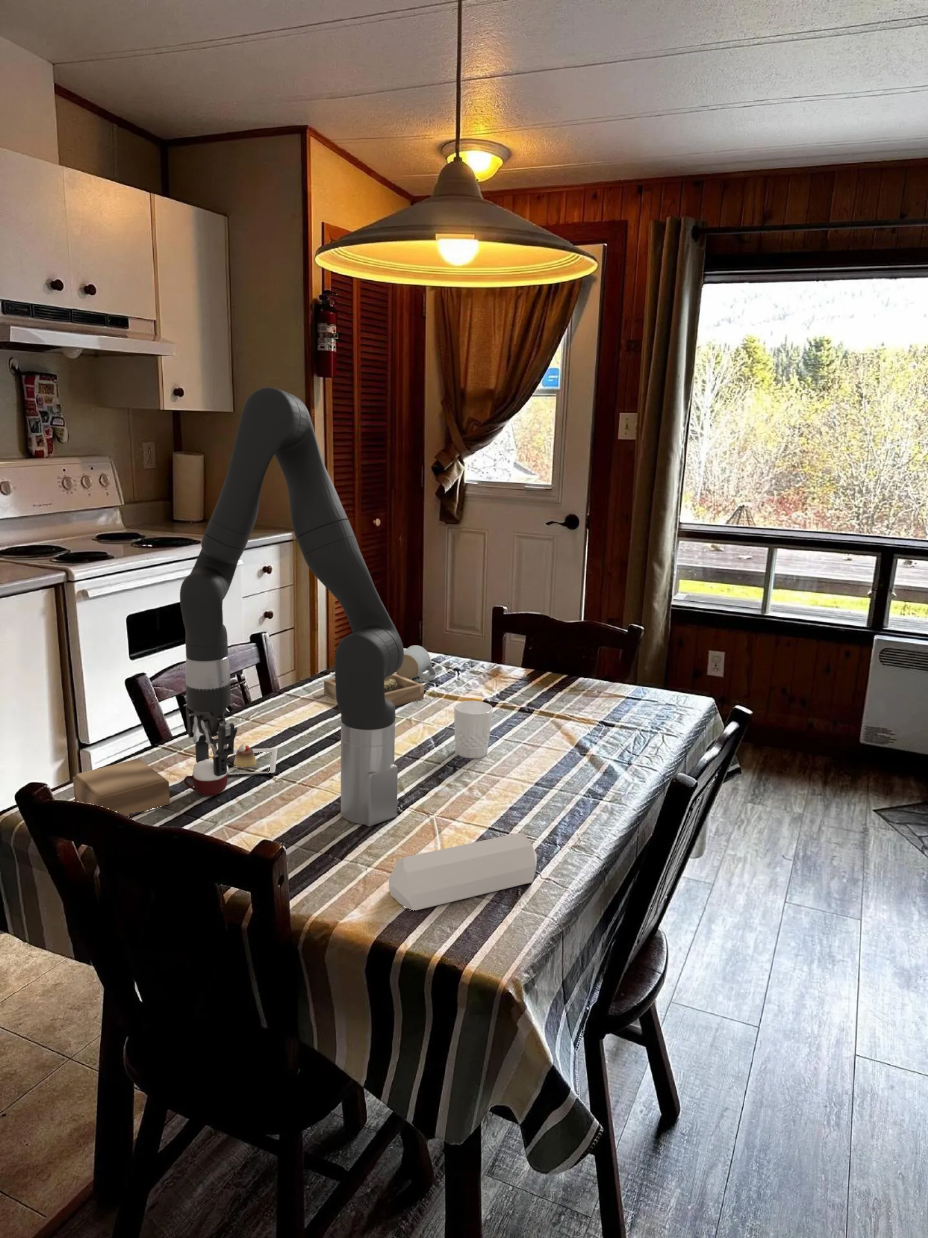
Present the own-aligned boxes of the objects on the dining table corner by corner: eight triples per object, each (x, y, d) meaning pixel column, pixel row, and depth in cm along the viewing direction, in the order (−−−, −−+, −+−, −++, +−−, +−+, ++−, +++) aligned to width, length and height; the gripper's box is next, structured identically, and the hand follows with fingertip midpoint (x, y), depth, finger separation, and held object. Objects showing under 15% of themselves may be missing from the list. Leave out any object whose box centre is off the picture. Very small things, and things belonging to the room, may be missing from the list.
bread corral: (423, 698, 206) (424, 685, 205) (366, 713, 195) (366, 699, 194) (380, 680, 218) (380, 667, 218) (324, 694, 207) (324, 680, 206)
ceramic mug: (391, 678, 221) (392, 650, 219) (404, 670, 228) (405, 642, 226) (429, 685, 217) (430, 656, 215) (440, 676, 225) (442, 648, 223)
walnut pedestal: (170, 804, 147) (168, 778, 146) (100, 825, 139) (98, 798, 138) (141, 781, 156) (140, 756, 155) (74, 800, 148) (72, 773, 147)
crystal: (403, 901, 115) (553, 865, 125) (387, 855, 120) (533, 825, 130) (393, 927, 120) (537, 891, 130) (378, 883, 124) (519, 851, 135)
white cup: (444, 751, 175) (446, 706, 172) (470, 742, 181) (472, 698, 178) (472, 763, 170) (474, 716, 167) (498, 753, 175) (500, 707, 173)
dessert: (277, 753, 172) (277, 731, 171) (275, 777, 161) (274, 754, 160) (217, 755, 170) (216, 733, 169) (210, 780, 159) (209, 756, 158)
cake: (388, 705, 203) (388, 684, 202) (351, 699, 206) (350, 679, 205) (405, 689, 212) (404, 670, 210) (369, 684, 215) (368, 665, 214)
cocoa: (181, 798, 151) (174, 736, 147) (198, 782, 157) (192, 723, 153) (231, 802, 149) (225, 740, 146) (246, 786, 155) (240, 726, 152)
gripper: (247, 687, 145) (250, 776, 149) (208, 666, 155) (211, 751, 159) (207, 695, 140) (210, 788, 144) (169, 674, 150) (173, 761, 154)
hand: (211, 768), depth 152 cm, fingers closed on cocoa, 6 cm apart
